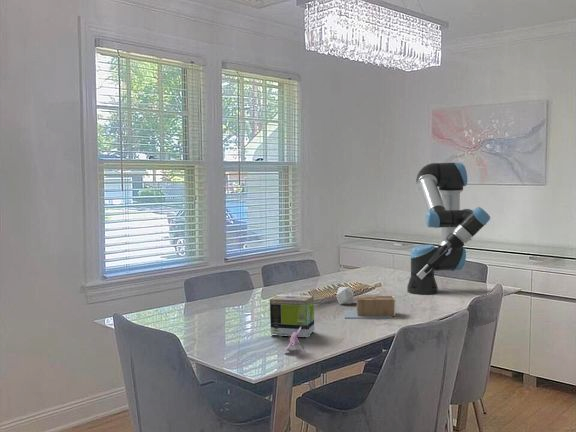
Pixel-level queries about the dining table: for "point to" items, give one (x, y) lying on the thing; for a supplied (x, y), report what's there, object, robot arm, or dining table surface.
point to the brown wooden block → (375, 306)
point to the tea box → (292, 314)
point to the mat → (354, 315)
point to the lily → (294, 339)
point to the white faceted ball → (344, 295)
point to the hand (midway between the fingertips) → (419, 277)
